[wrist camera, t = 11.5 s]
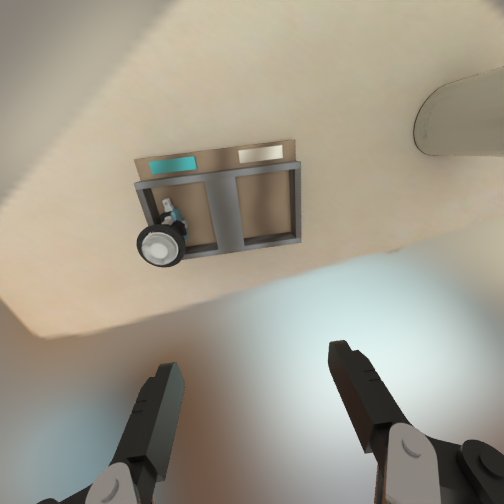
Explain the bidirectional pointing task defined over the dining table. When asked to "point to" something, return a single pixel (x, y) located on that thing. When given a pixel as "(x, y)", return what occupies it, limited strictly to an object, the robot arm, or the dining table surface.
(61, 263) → the dining table surface
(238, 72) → the dining table surface
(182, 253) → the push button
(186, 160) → the dock
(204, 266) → the dining table surface
